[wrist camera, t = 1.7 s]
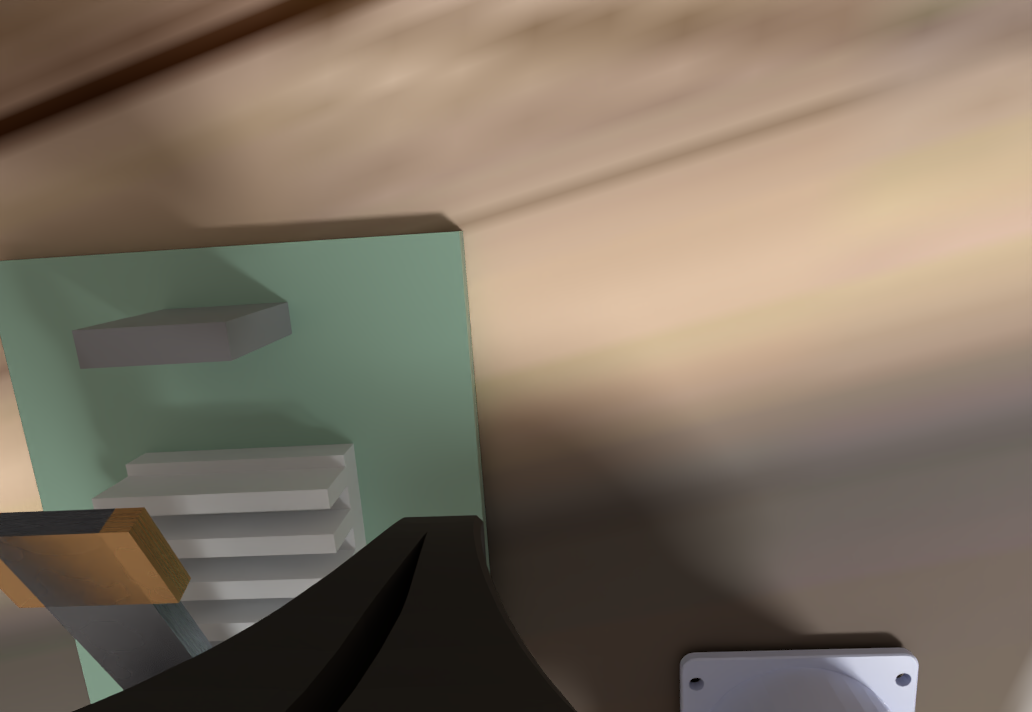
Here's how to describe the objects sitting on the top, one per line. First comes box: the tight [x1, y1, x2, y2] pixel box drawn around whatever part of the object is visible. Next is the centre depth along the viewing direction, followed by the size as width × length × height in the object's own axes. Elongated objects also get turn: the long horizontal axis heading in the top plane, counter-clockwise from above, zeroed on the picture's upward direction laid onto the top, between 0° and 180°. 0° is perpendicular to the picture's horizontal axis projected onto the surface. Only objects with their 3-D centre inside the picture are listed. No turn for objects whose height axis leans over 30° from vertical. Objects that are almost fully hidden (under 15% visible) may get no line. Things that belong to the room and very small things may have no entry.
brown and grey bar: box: [0, 507, 213, 690], centre depth 16 cm, size 13×4×2 cm, turn 3°
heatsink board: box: [0, 231, 490, 704], centre depth 19 cm, size 20×15×5 cm
